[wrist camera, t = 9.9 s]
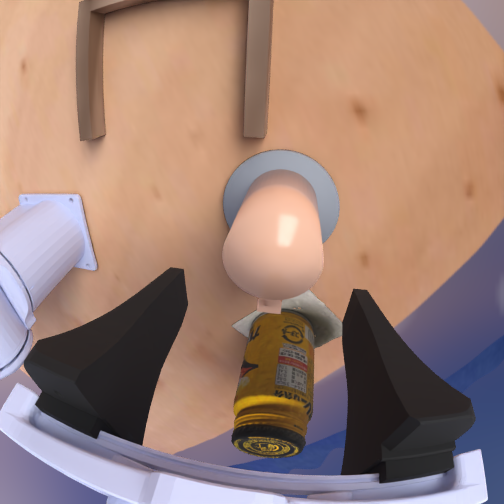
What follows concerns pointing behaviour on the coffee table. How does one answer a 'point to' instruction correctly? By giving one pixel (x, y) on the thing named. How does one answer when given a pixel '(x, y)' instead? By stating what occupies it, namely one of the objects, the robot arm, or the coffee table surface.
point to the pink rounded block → (275, 240)
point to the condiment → (280, 375)
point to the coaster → (287, 161)
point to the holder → (91, 65)
